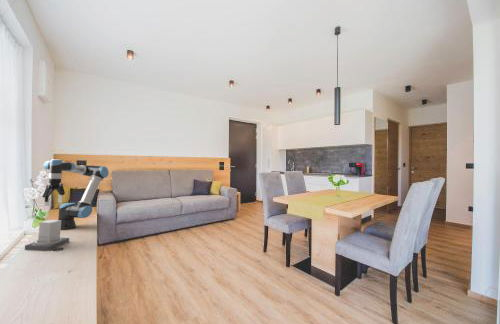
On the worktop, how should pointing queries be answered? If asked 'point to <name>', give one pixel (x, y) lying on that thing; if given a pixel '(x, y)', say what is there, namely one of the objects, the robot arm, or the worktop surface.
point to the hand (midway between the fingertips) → (53, 204)
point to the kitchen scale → (46, 244)
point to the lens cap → (58, 249)
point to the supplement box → (49, 231)
